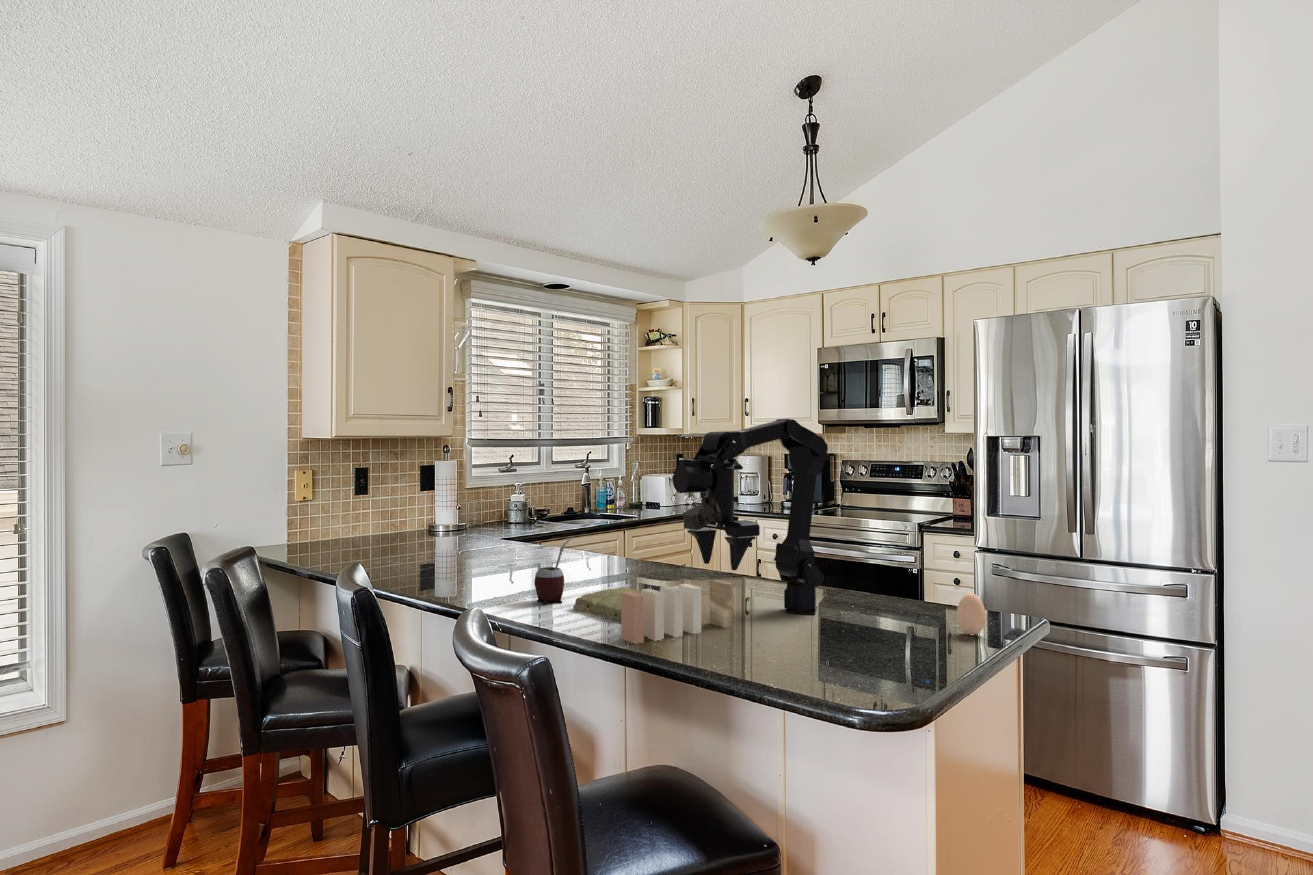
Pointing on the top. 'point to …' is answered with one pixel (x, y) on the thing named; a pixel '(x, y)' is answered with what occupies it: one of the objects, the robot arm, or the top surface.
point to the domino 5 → (721, 603)
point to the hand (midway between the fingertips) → (720, 566)
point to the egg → (971, 614)
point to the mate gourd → (550, 582)
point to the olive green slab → (603, 602)
